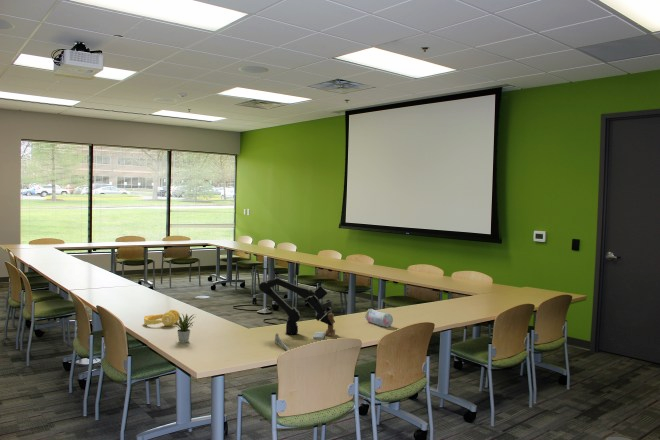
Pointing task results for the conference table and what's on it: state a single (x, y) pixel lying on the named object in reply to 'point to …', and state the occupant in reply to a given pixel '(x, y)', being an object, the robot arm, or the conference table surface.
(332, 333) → the marking gauge
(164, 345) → the conference table surface
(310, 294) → the robot arm
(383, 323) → the pencil case
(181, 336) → the house plant
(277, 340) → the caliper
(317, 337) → the board
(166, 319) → the headset
